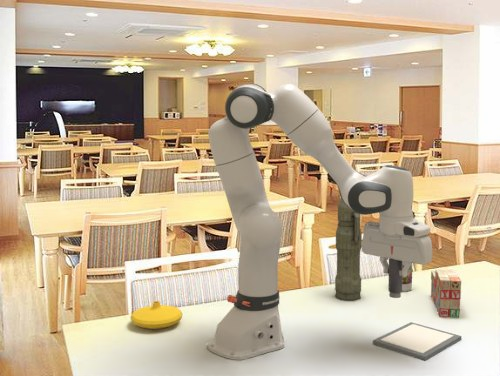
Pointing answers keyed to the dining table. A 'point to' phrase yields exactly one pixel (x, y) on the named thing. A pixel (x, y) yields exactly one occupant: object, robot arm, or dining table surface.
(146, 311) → the yellow lid
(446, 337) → the writing board
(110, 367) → the dining table surface
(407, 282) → the milk bottle
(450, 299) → the stack of blocks
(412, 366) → the dining table surface
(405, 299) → the dining table surface
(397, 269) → the marker
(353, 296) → the thermos
